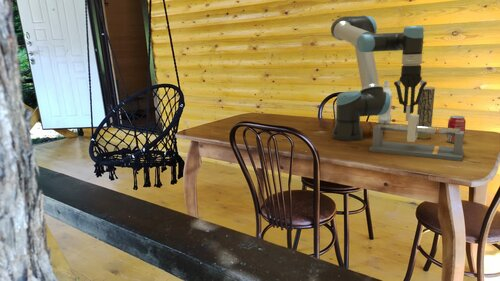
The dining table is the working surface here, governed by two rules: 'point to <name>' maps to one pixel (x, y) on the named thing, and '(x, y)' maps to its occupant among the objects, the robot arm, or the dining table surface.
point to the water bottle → (387, 116)
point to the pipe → (420, 129)
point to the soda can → (456, 126)
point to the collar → (412, 128)
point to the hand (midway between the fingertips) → (407, 120)
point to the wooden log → (426, 110)
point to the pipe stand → (418, 147)
